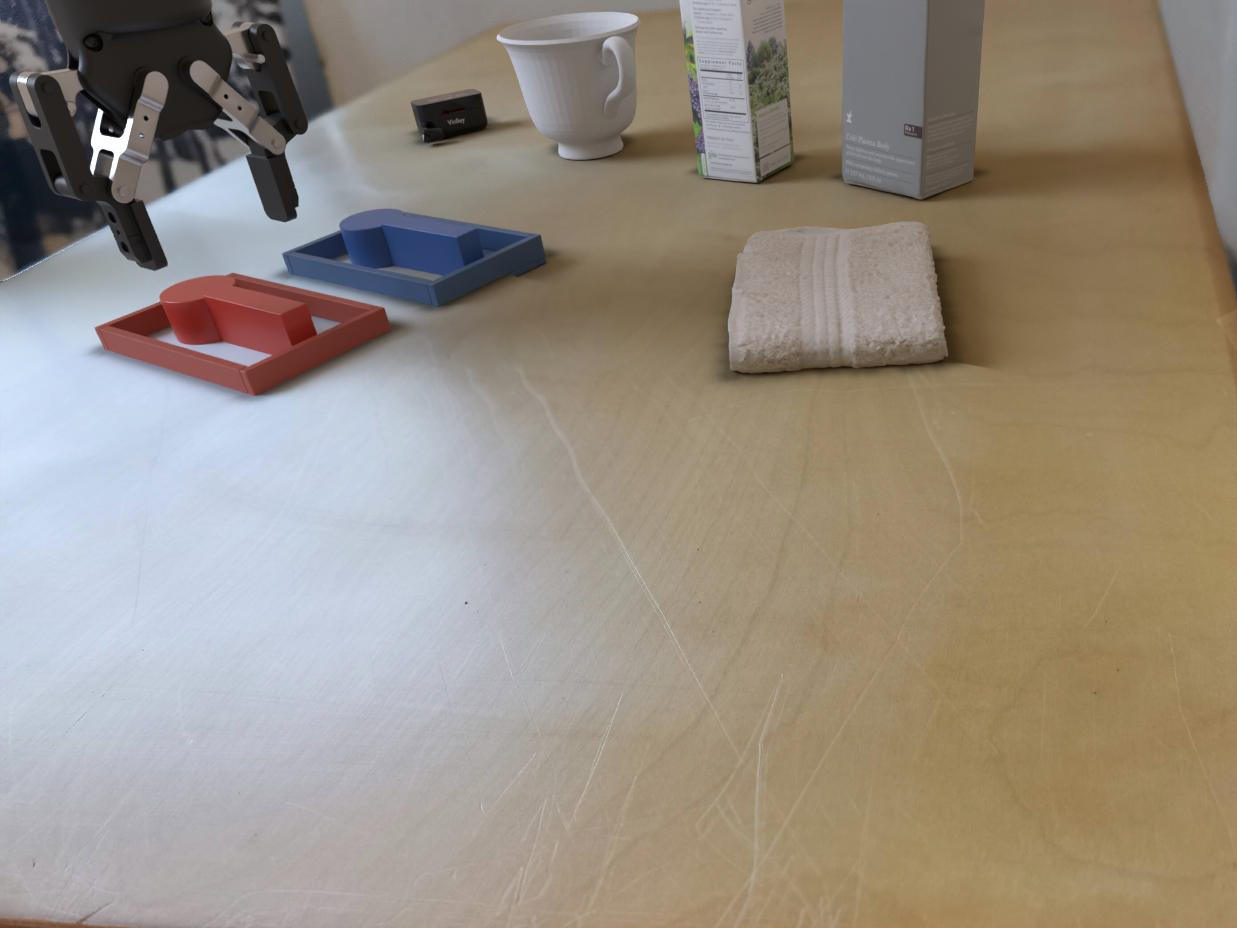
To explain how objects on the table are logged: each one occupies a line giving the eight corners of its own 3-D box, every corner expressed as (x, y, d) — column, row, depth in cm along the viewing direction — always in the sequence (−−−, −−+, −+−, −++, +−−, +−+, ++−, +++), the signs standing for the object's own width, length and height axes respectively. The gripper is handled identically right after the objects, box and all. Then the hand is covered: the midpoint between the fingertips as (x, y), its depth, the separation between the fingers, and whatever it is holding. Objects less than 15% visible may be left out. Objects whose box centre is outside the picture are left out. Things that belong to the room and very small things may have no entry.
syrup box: (738, 158, 95) (716, -40, 86) (797, 164, 92) (782, -39, 83) (698, 178, 91) (672, -26, 82) (759, 185, 88) (739, -26, 79)
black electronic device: (410, 139, 108) (400, 103, 106) (481, 123, 111) (473, 88, 109) (425, 148, 105) (415, 111, 103) (498, 132, 108) (489, 96, 106)
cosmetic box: (840, 184, 87) (827, -52, 77) (902, 161, 91) (897, -68, 81) (924, 204, 82) (921, -47, 72) (986, 178, 85) (991, -64, 76)
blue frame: (290, 280, 78) (281, 253, 77) (399, 235, 85) (391, 209, 84) (440, 314, 71) (432, 284, 70) (546, 262, 78) (541, 234, 77)
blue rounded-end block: (338, 265, 79) (324, 222, 77) (387, 244, 82) (374, 202, 80) (454, 289, 74) (442, 243, 72) (502, 266, 76) (491, 221, 75)
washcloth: (928, 253, 74) (927, 206, 72) (954, 374, 59) (954, 318, 57) (746, 266, 74) (741, 219, 72) (729, 388, 60) (722, 333, 58)
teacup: (583, 187, 91) (557, 51, 85) (498, 155, 101) (470, 31, 95) (704, 152, 97) (688, 23, 91) (614, 125, 106) (594, 6, 100)
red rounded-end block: (163, 339, 70) (142, 292, 68) (224, 313, 73) (206, 267, 71) (279, 372, 65) (260, 323, 63) (341, 343, 68) (325, 295, 66)
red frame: (107, 356, 70) (93, 327, 69) (243, 299, 76) (232, 272, 75) (258, 403, 63) (245, 372, 61) (394, 337, 69) (384, 307, 68)
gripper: (185, -101, 62) (284, 198, 72) (-90, -63, 53) (67, 274, 63) (269, -100, 59) (361, 213, 69) (-10, -60, 49) (143, 296, 59)
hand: (220, 242), depth 66 cm, fingers open, 8 cm apart
